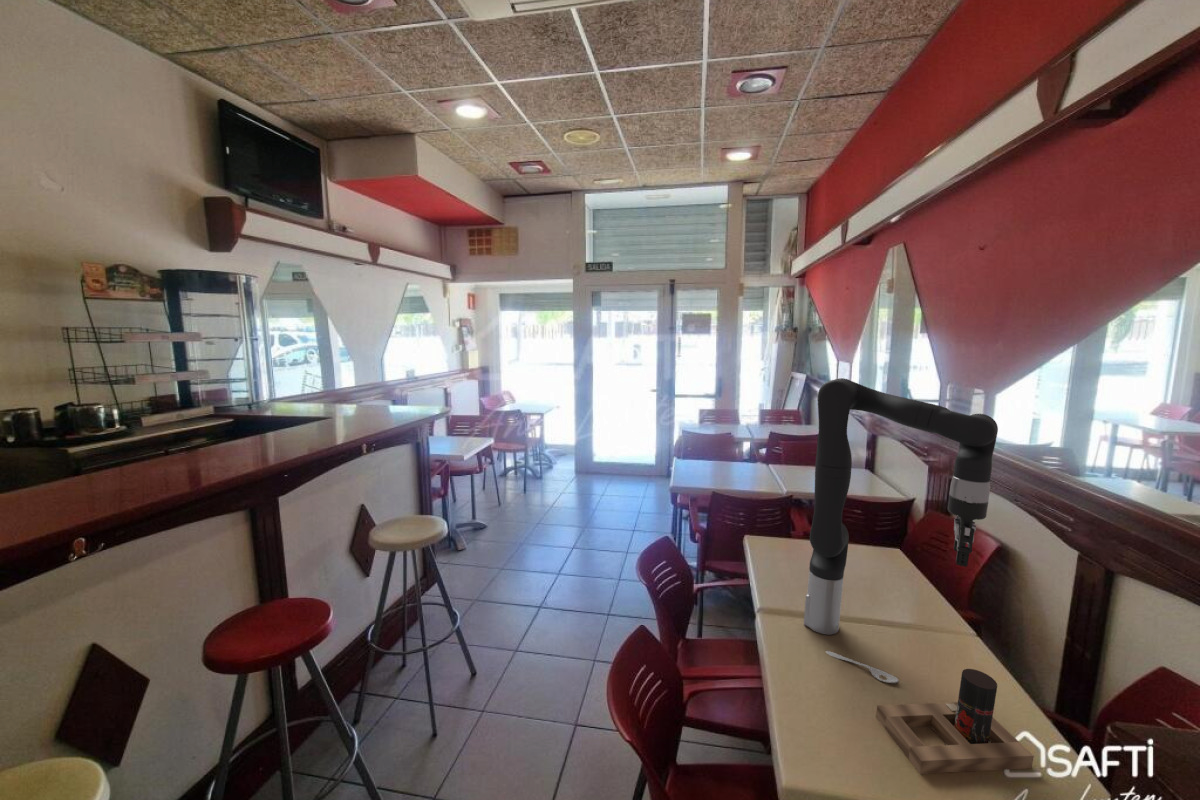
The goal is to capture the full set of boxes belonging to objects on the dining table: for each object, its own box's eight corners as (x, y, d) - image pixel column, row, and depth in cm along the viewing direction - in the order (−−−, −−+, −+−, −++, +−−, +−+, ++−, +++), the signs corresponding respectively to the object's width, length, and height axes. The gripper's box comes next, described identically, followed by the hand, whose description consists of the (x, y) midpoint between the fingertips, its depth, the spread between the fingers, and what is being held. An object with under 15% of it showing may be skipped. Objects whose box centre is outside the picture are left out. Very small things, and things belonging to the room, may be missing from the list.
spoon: (896, 690, 117) (896, 684, 117) (811, 651, 131) (812, 645, 131) (900, 682, 120) (900, 676, 120) (817, 644, 134) (817, 638, 134)
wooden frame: (919, 773, 95) (921, 759, 94) (875, 716, 109) (877, 704, 108) (1031, 768, 96) (1034, 754, 96) (974, 712, 110) (976, 700, 109)
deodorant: (994, 753, 99) (1004, 691, 97) (962, 748, 101) (971, 686, 98) (977, 730, 105) (986, 670, 103) (948, 726, 106) (956, 667, 104)
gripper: (948, 484, 121) (940, 543, 124) (951, 501, 110) (942, 565, 112) (985, 490, 117) (976, 551, 120) (992, 508, 106) (982, 575, 108)
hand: (960, 558), depth 116 cm, fingers open, 8 cm apart
